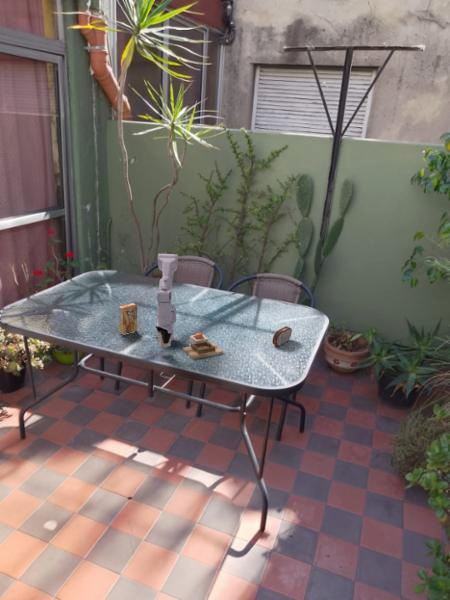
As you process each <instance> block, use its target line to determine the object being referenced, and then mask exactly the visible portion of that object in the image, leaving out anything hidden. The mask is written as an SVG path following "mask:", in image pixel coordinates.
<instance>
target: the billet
mask: <svg viewBox="0 0 450 600" xmlns="http://www.w3.org/2000/svg"><path fill="white" fill-rule="evenodd" d="M171 342H172V341H171V336H170V339H169V343H167V344H164V342H163V336H162V333H161V331H158V338H157V346H158V347H159V348H161V349H163V348H167V347H172V346H171V345H172V343H171Z"/></svg>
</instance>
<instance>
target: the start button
mask: <svg viewBox="0 0 450 600" xmlns="http://www.w3.org/2000/svg"><path fill="white" fill-rule="evenodd" d="M194 335H195V339H197V340H198V339H202V336H203V335H204V334H203V333H202V332H196V333H195V334H194Z"/></svg>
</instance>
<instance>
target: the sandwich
mask: <svg viewBox="0 0 450 600" xmlns="http://www.w3.org/2000/svg"><path fill="white" fill-rule="evenodd" d="M292 332H293V329H292V328H291V327H289V326H287V325H286V326H284V327H281V328H279V329H278V330H277V331H275V333H274V334H273V337H272V344H273V346H277V347H281V346H282V345H284V344H286V343H287V342H288V341H289V340H290V338H292V337H291V336H292Z"/></svg>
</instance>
